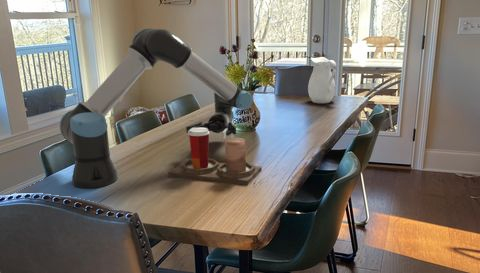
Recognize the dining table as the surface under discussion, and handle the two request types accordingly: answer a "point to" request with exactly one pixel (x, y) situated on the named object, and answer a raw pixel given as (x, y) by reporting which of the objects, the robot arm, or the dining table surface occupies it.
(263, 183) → the dining table surface
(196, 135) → the paper cup
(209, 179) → the wooden cup holder tray
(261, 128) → the dining table surface
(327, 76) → the pitcher
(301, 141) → the dining table surface
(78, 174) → the robot arm
